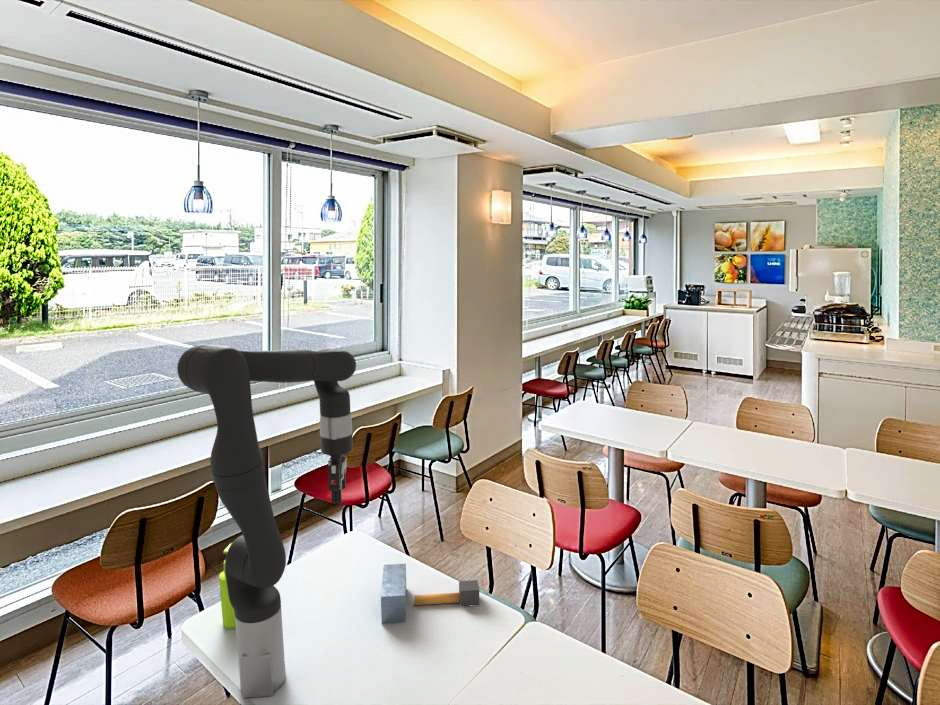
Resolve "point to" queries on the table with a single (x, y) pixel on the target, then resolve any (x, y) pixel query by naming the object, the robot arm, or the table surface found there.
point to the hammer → (453, 595)
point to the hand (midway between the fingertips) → (339, 495)
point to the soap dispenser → (226, 600)
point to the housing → (393, 594)
